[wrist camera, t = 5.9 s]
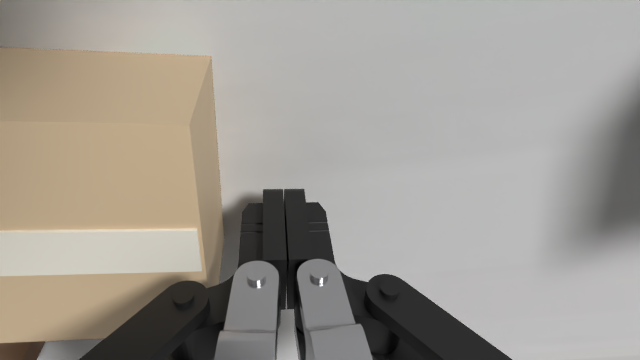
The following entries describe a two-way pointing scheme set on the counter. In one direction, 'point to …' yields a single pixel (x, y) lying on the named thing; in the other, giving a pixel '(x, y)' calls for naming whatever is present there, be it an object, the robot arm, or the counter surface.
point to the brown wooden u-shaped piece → (20, 350)
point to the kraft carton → (103, 187)
